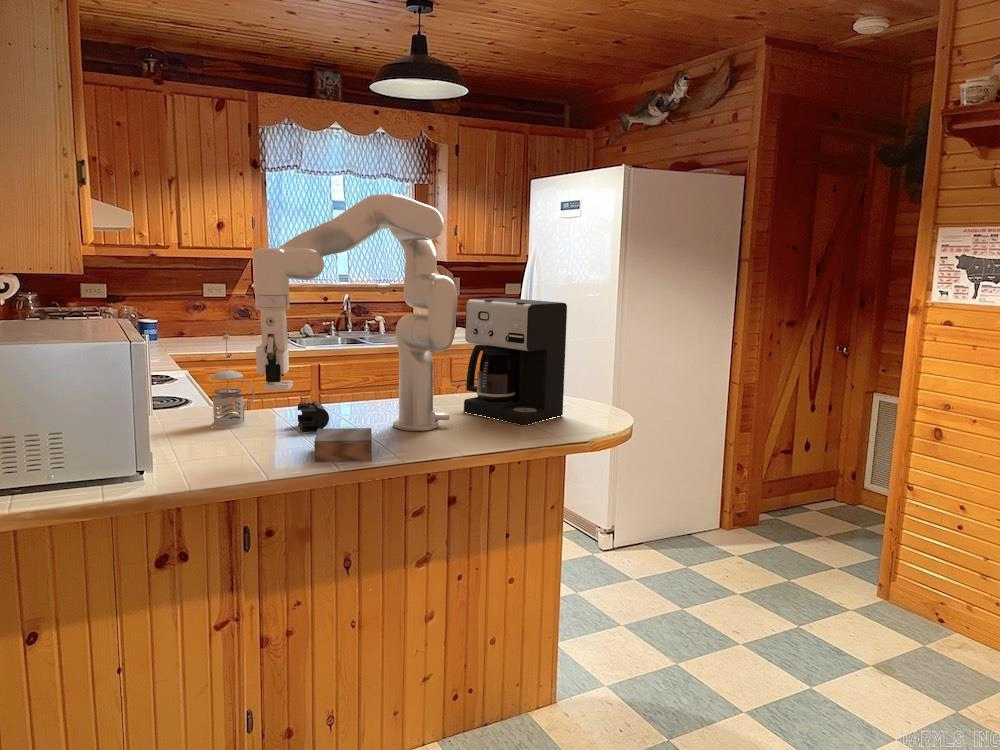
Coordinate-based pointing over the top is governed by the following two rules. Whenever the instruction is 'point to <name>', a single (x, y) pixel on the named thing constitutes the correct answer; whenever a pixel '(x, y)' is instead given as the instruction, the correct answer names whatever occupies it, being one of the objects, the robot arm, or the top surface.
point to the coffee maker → (516, 358)
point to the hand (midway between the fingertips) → (275, 378)
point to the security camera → (283, 368)
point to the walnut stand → (343, 445)
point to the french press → (229, 400)
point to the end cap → (312, 417)
